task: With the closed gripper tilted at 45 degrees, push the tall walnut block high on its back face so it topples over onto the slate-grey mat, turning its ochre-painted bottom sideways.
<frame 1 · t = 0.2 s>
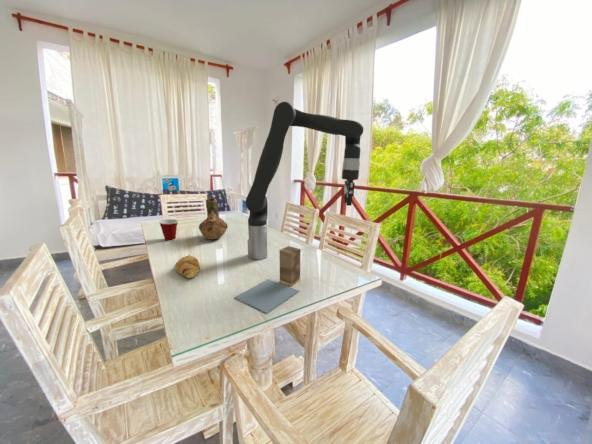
hand: (347, 204, 120), 29 cm above the table, tool pointing down, fingers open, 8 cm apart
walnut block: (290, 281, 106), on the table
plastic cup: (170, 239, 158), on the table
ceramic vessel: (214, 239, 160), on the table
croissant: (187, 271, 115), on the table
slate mat: (267, 294, 95), on the table
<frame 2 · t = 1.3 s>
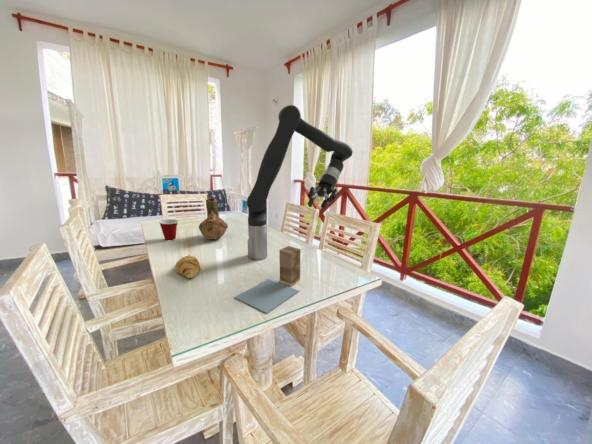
hand: (315, 206, 115), 28 cm above the table, tool tilted 45°, fingers open, 6 cm apart
nothing on the table moved.
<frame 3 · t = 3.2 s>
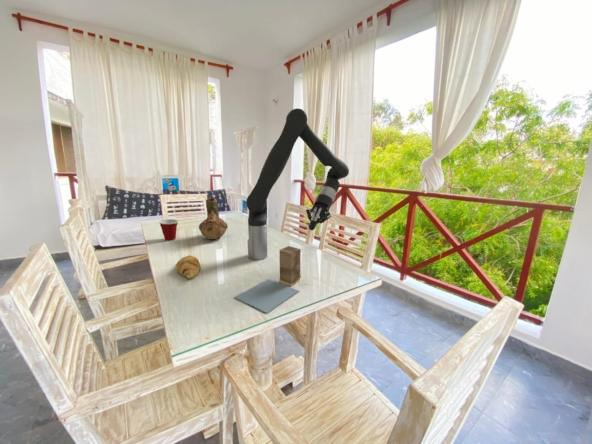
hand: (310, 229, 112), 19 cm above the table, tool tilted 45°, fingers closed
nothing on the table moved.
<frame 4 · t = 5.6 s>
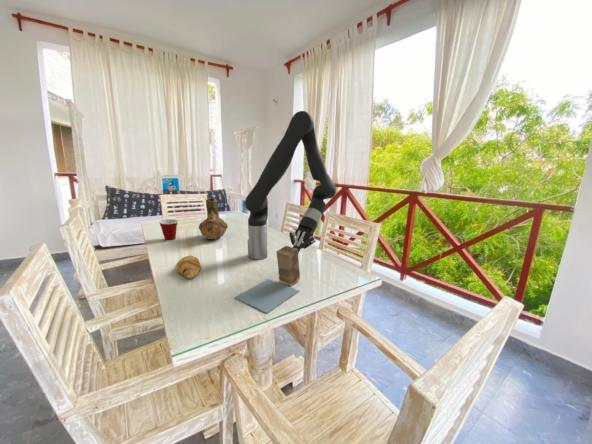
hand: (293, 255, 104), 11 cm above the table, tool tilted 45°, fingers closed
walnut block: (289, 280, 105), on the table, tilted 8°, touching gripper
everything else where it was.
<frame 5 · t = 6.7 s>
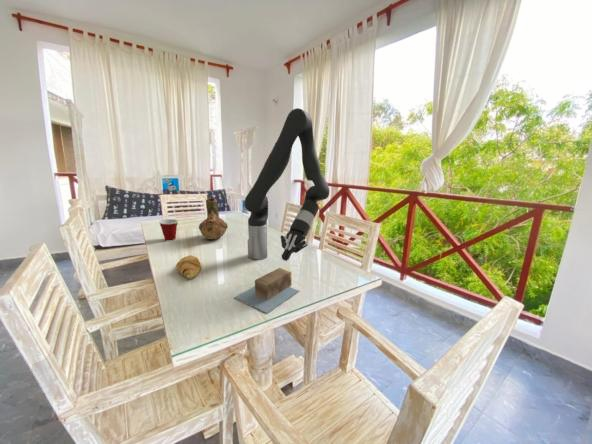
hand: (284, 259, 100), 11 cm above the table, tool tilted 45°, fingers closed
walnut block: (285, 276, 102), point 3 cm above the table, tilted 90°, touching slate mat
everything else where it was.
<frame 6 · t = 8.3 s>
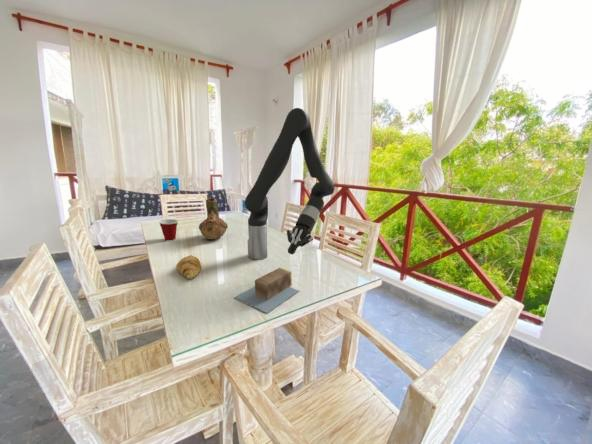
hand: (290, 253, 103), 12 cm above the table, tool tilted 45°, fingers closed
nothing on the table moved.
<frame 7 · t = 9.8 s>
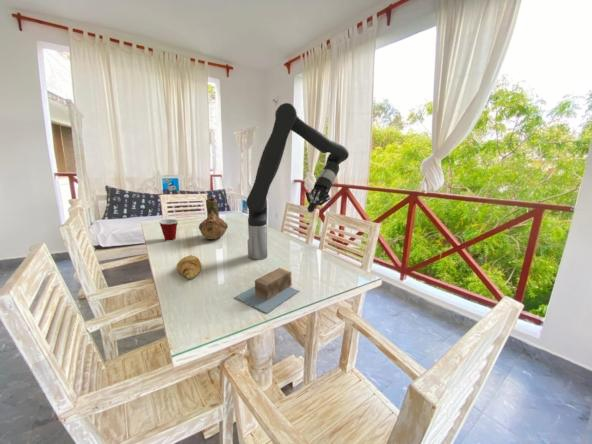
hand: (309, 211, 112), 27 cm above the table, tool tilted 45°, fingers closed
nothing on the table moved.
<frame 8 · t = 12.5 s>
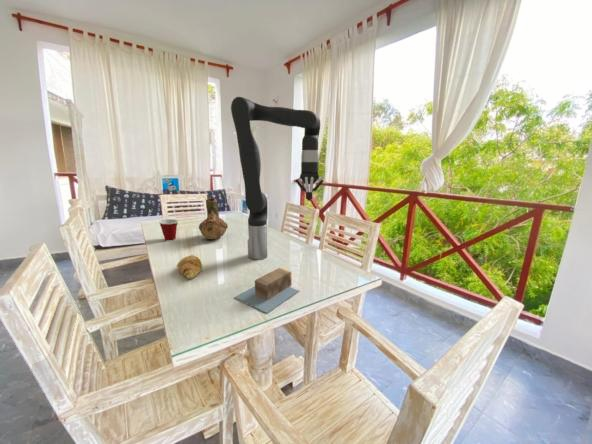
hand: (309, 200, 116), 31 cm above the table, tool pointing down, fingers closed
nothing on the table moved.
at the end: walnut block tilted 90°; walnut block touching slate mat; walnut block inside the target area (0.0 cm from its centre), point 3.4 cm above the table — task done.
